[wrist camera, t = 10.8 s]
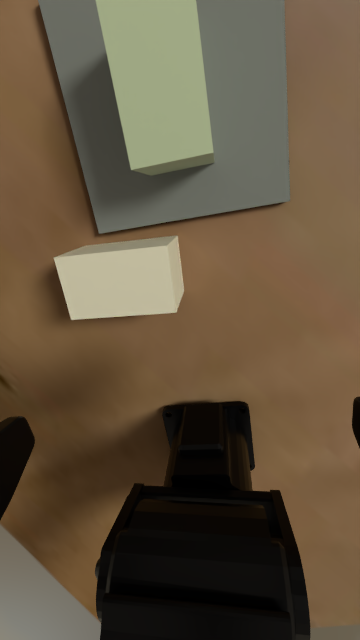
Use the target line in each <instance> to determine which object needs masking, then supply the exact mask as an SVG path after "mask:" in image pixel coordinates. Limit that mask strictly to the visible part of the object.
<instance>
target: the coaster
mask: <svg viewBox="0 0 360 640" xmlns="http://www.w3.org/2000/svg"><path fill="white" fill-rule="evenodd" d="M38 1H39V5H40V9H41V13H42V17H43V21H44V24H45V28H46V32H47V36H48V40H49V44H50V47H51V51H52V55H53V59H54V63H55V67H56V70H57V74H58V78H59V82H60V86H61V90H62V93H63V97H64V101H65V105H66V109H67V113H68V116H69V120H70V124H71V128H72V132H73V136H74V139H75V143H76V147H77V151H78V155H79V158H80V162H81V166H82V170H83V174H84V178H85V181H86V185H87V189H88V193H89V197H90V201H91V204H92V208H93V212H94V216H95V220H96V224H97V227H98V231H99V234H101V233H106V232H112V231H118V230H124V229H130V228H135V227H141V226H147V225H153V224H159V223H165V222H170V221H176V220H182V219H188V218H194V217H199V216H205V215H211V214H217V213H223V212H229V211H234V210H240V209H246V208H252V207H258V206H263V205H269V204H275V203H281V202H287V201H290V181H289V147H288V112H287V78H286V44H285V9H284V0H196V4H197V12H198V21H199V30H200V39H201V47H202V56H203V65H204V74H205V82H206V91H207V100H208V109H209V117H210V126H211V135H212V144H213V152H214V161H215V163H211V164H206V165H201V166H196V167H191V168H186V169H181V170H176V171H172V172H167V173H162V174H157V175H152V176H150V175H147V174H143V173H140V172H136V171H133V170H131V168H130V163H129V158H128V153H127V148H126V144H125V139H124V134H123V129H122V125H121V120H120V115H119V110H118V105H117V101H116V96H115V91H114V86H113V81H112V77H111V72H110V67H109V62H108V58H107V53H106V48H105V43H104V38H103V34H102V29H101V24H100V19H99V15H98V10H97V5H96V0H38Z"/></svg>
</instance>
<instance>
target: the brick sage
mask: <svg viewBox="0 0 360 640" xmlns="http://www.w3.org/2000/svg"><path fill="white" fill-rule="evenodd" d="M96 5H97V10H98V15H99V19H100V24H101V29H102V34H103V38H104V43H105V48H106V53H107V58H108V62H109V67H110V72H111V77H112V81H113V86H114V91H115V96H116V101H117V105H118V110H119V115H120V120H121V125H122V129H123V134H124V139H125V144H126V148H127V153H128V158H129V163H130V168H131V170H133V171H136V172H140V173H143V174H147V175H150V176H152V175H157V174H162V173H167V172H172V171H176V170H181V169H186V168H191V167H196V166H201V165H206V164H211V163H215V161H214V152H213V144H212V135H211V126H210V117H209V109H208V100H207V91H206V82H205V74H204V65H203V56H202V47H201V39H200V30H199V21H198V12H197V4H196V0H96Z"/></svg>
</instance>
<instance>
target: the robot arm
mask: <svg viewBox="0 0 360 640" xmlns="http://www.w3.org/2000/svg"><path fill="white" fill-rule="evenodd" d="M240 408H244V410H240ZM167 412H170V413H171V414H168V413H167ZM162 415H163V420H164V424H165V428H166V432H167V437H168V441H169V445H170V449H171V450H170V456H169V461H168V466H167V471H166V477H165V482H164V486H145V485H144V484H139V483H135V484H134V486H133V488H132V490H131V492H130V494H129V495H128V496H127V498H126V500H125V502H124V505H123V507H122V509H121V511H120V513H119V515H118V517H117V519H116V521H115V523H114V525H113V527H112V529H111V531H110V533H109V535H108V537H107V539H106V541H105V543H104V545H103V547H102V550H101V557H100V558H99V560H98V561H97V564H96V568H95V575H96V578H97V580H98V582H97V592H96V610H97V616H98V619H99V620H100V622H101V635H100V640H310V617H309V607H308V598H307V591H306V585H305V579H304V573H303V568H302V563H301V559H300V554H299V551H298V547H297V544H296V541H295V537H294V534H293V531H292V528H291V525H290V522H289V518H288V515H287V512H286V509H285V506H284V502H283V499H282V496H281V493H280V490H270V492H267V491H253V490H252V481H251V472H250V471H251V470H253V469H254V468H255V463H254V453H253V443H252V433H251V423H250V414H249V406H248V404H247V403H245V402H228V403H211V404H195V405H178V406H167V407H165V408H164V409H163V413H162ZM352 428H353V432H354V435H355V438H356V440H357V443H358V445H359V448H360V397H356V398H355V399H354V402H353V417H352ZM34 444H35V438H34V435H33V433H32V431H31V428H30V426H29V424H28V422H27V420H26V419H25V418H24V417H22V416H18V417H9V418H7V419H5V420H3V421H2V422H0V520H1V518H2V516H3V514H4V512H5V510H6V509H7V507H8V505H9V503H10V501H11V499H12V496H13V494H14V492H15V490H16V487H17V485H18V483H19V480H20V478H21V476H22V473H23V471H24V468H25V466H26V464H27V461H28V459H29V457H30V454H31V452H32V450H33V447H34Z"/></svg>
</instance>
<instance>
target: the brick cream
mask: <svg viewBox="0 0 360 640" xmlns="http://www.w3.org/2000/svg"><path fill="white" fill-rule="evenodd" d="M54 260H55V264H56V268H57V271H58V275H59V278H60V282H61V285H62V289H63V292H64V296H65V300H66V303H67V307H68V310H69V314H70V317H71V320H77V319H91V318H106V317H120V316H134V315H149V314H163V313H176V312H177V309H178V306H179V304H180V301H181V298H182V295H183V293H184V285H183V277H182V269H181V260H180V252H179V244H178V235H177V236H168V237H159V238H150V239H141V240H133V241H124V242H115V243H106V244H97V245H88V246H83V247H80V248H78V249H75V250H73V251H70V252H67V253H65V254H62V255H59V256H57V257H54Z"/></svg>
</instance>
